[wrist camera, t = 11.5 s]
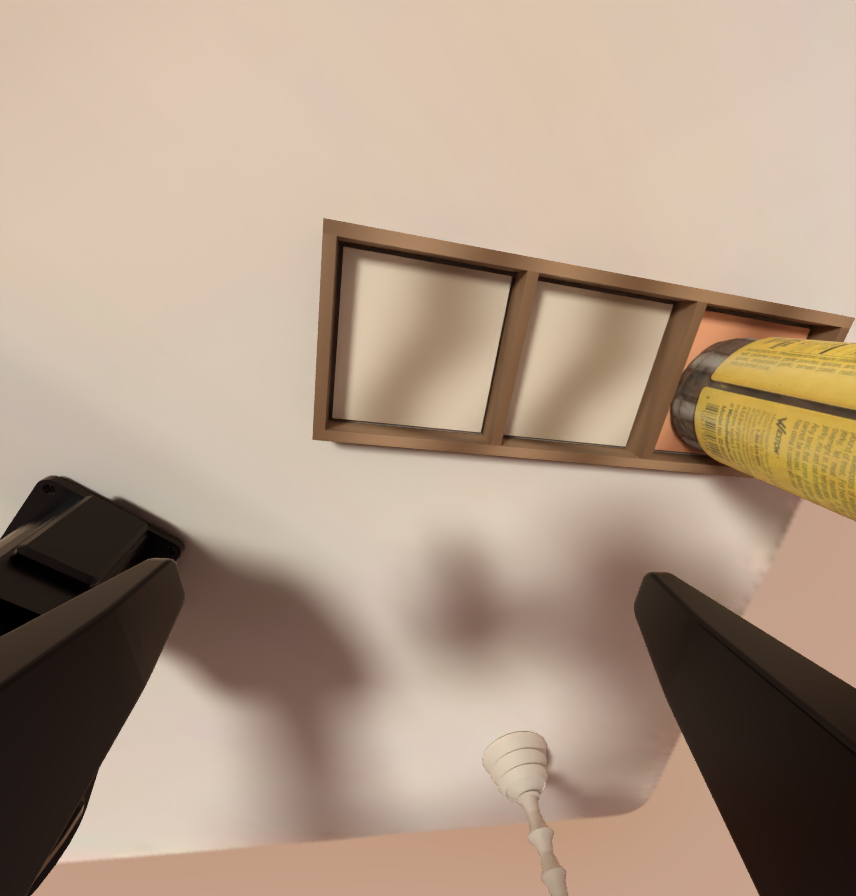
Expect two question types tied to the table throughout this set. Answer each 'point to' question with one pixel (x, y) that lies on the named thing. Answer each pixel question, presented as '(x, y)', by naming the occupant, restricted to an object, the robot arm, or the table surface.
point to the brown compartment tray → (518, 352)
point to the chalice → (527, 794)
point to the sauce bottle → (776, 414)
